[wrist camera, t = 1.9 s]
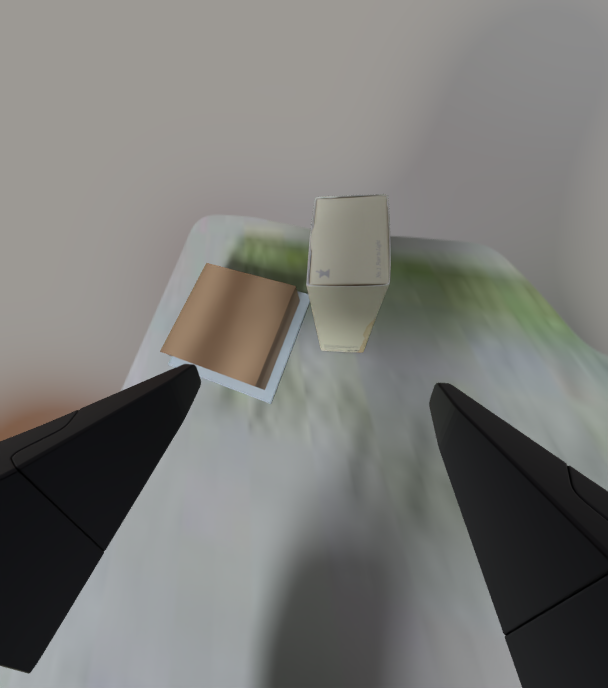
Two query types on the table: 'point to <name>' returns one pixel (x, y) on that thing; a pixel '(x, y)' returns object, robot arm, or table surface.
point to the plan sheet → (277, 371)
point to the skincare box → (348, 268)
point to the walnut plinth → (234, 324)
